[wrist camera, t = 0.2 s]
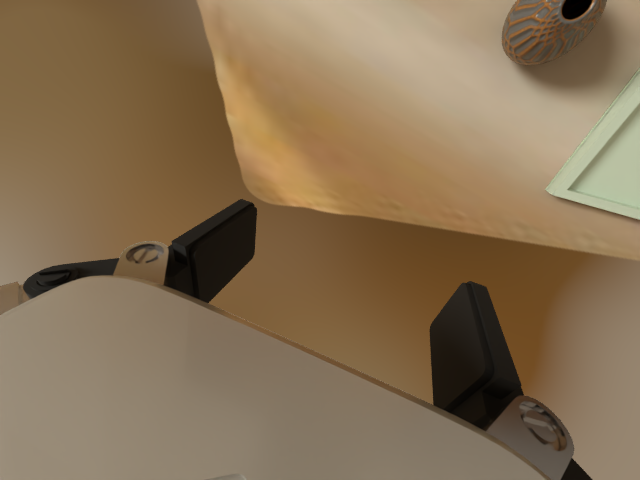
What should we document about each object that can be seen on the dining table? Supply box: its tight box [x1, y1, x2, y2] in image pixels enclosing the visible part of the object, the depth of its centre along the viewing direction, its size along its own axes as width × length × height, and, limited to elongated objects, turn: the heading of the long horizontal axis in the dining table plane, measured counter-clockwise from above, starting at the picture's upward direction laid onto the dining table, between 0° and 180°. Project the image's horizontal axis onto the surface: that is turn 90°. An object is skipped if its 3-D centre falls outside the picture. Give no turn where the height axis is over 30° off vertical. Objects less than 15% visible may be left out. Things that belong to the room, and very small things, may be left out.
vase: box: [502, 0, 607, 65], centre depth 22 cm, size 7×7×9 cm
